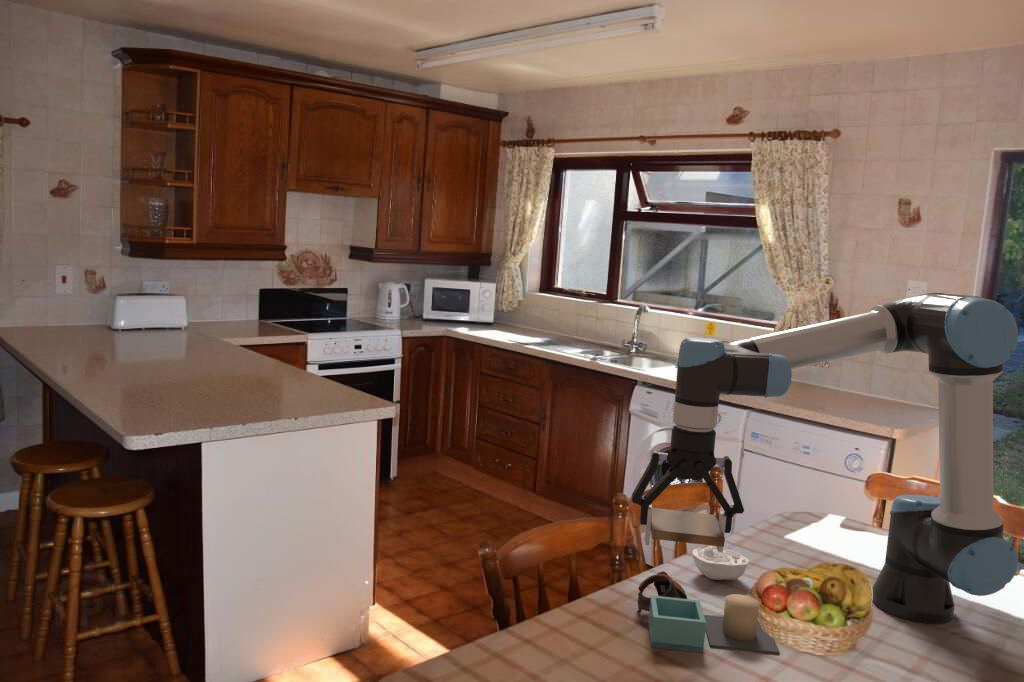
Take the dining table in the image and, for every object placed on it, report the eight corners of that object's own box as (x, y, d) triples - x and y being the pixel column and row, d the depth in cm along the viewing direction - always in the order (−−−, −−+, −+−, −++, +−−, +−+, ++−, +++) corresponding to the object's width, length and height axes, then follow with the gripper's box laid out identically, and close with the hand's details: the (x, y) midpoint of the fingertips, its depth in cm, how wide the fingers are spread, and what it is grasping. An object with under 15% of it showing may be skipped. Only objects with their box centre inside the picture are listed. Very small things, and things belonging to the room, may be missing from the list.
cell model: (746, 592, 168) (749, 561, 167) (687, 581, 172) (690, 550, 171) (748, 574, 177) (751, 544, 177) (692, 564, 181) (695, 535, 180)
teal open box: (697, 628, 150) (699, 600, 149) (703, 652, 141) (706, 622, 140) (647, 623, 151) (650, 595, 150) (650, 646, 142) (653, 617, 141)
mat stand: (765, 623, 154) (769, 591, 153) (779, 654, 142) (783, 619, 141) (701, 616, 155) (704, 584, 154) (710, 646, 143) (713, 612, 143)
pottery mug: (697, 627, 152) (681, 594, 149) (649, 642, 154) (633, 609, 151) (687, 586, 163) (673, 554, 160) (643, 600, 165) (628, 568, 162)
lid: (713, 523, 149) (714, 514, 149) (723, 547, 137) (724, 537, 137) (648, 515, 150) (649, 507, 150) (652, 538, 138) (653, 529, 138)
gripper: (761, 428, 144) (748, 545, 146) (623, 416, 146) (613, 531, 149) (769, 437, 136) (756, 561, 139) (624, 425, 139) (614, 546, 141)
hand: (682, 546), depth 144 cm, fingers closed on lid, 12 cm apart
